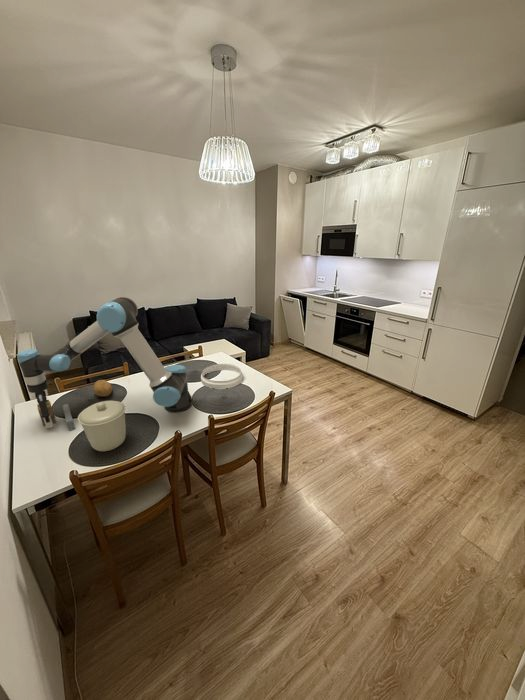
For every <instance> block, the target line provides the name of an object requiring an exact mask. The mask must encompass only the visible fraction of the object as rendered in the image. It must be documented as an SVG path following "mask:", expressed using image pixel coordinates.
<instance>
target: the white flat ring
mask: <svg viewBox="0 0 525 700" xmlns="http://www.w3.org/2000/svg"><path fill="white" fill-rule="evenodd" d="M216 371H231V372H235V373H236V374H237V373H238V376H237V377H235V378H231V379H227V380H211V379H208V378H206V377H205V374H206V375H207V373H208V374H210V373H212V372H216ZM242 381H243V372H242V370H241V368H240V367H239V366H237V365H235V364H231V363H230V364H229V363H217V364H216V363H215V364H212V365H209V366H207V367H205V368H204V369H203V370H202V372H201V375H200V382H201V384H202V385H203V387H204V386H205V387H207V388H208V387H209V389H212V388H215V389H214V390H227V389H226V388H228V389H232V388H234V387H236V386H238V385H240V384H241V383H242Z"/></svg>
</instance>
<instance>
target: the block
mask: <svg viewBox="0 0 525 700" xmlns="http://www.w3.org/2000/svg"><path fill="white" fill-rule="evenodd" d="M46 404H47V408H48V412H49V414H50V417H51V420H52V423H53V424H56V423H57V421H56V416H55V413H54V410H53V407H52V404H51V401H50V400H49V401H48V402H46ZM36 406H37V411H38V414H39V418H40V420H41V422H42V423H41V424H42V425H43V427H46V425H45V422H44V419H43V418H41V416H42V413H41V410H40V406H39V404H38V403H37V404H36Z"/></svg>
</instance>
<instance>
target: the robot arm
mask: <svg viewBox="0 0 525 700" xmlns="http://www.w3.org/2000/svg"><path fill="white" fill-rule="evenodd" d="M138 311H139V310H138V306H137V304H136V302H135V301H134V300H133V299H131V298H129V297H125V296H122V297H121V296H120V297H117V298H115V299H113V300H111V301H108V302H105V303H104V304H103V305H102V306H100V308H98V310H97V312H96V321H94V322H93V323H92V324H91V325H89V326H88V327H87V328H86V329H85V330H83V331H82V332H80V333H79V334H78V335H76V337H74V338H72V339H71V340H70V341H69V342H68V343H66V344H65V345H64V346H62V347H60V348H59V349H57V350H55V351H54V352H52V353H50V354H40V353H39V351H38V350H37V349H33V348H32V349H24V350H22V351H19V352H18V353H17V355H16V356H17V361H18V364H19V367H20V369H21V372H22V375H23V376H22V377H23V379H24V382H25V385H26V388H27V390H28V392H29V393H30V394H34V397H35V399H36V401H37V404H39V406H40V410H41V413H42V416H41V417H40V419H41V418H43V419H44V422H45V425H46V426H45V427H46V429H49V428H52V427H54V423H52V420H51V417H50V414H49V412H48V408H47V404H46V402H48V401H50V400H49V399H48V397H47V393H46V390H47V389H49V384H48V381H47V379H46V378H47V377H46V375H47V373H45V372H62V371H63V372H65V371H66V370H68V369H69V368H70V366H71V362H72V361H73V360H74V359H76V358H78V357H80V355H81V354H83V353H84V352H85V351H87V350H88V349H89V348H90V347H92V346H93V345H95V344H97V343H98V341H100V340H101V339H102V338H104V337H105V336H106V335H107V334H109V333H111V335H112V336H113V338H118V339H120V341H121V342H122V344H123V345H124V347H125V348H126V349H127V351H128V352H129V353H130V355H131V356H132V357H133V359H134V361H135V362H136V363H137V365H138V366H139V367H140V369H141V370H142V371H143V374H144V375H145V376H146V377H147V378H148V380H149V385H148V386H149V387H150V389H151V390H152V393H153V395H152V399H153V401H154V402H155V403H156V404H157V405H158V406H161V407H164V410H165V411H167V412H168V413H170V412H171V413H181V412H183V411H187V410H188V409H190V408H191V407H192V406H193V402H194V401H193V397H192V395H191V394H190V391H189V386H188V385H189V384H188V373H187V368H186V366H184V365H181V364H171V365H167V366H163V364H162V362H161V361H160V359H159V358H158V357H157V355H156V353H155V352H154V350H153V349H152V347H151V346H150V344H149V343H148V341H147V339H146V338H145V337H144V335H143V334H142V333H141V331H140V330H139V322H138V320H137V319H136V317H137V316H138Z"/></svg>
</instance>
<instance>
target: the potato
mask: <svg viewBox="0 0 525 700" xmlns="http://www.w3.org/2000/svg"><path fill="white" fill-rule="evenodd" d="M112 392H113V385H112V383H111V382H110V381H108V380H106V379H99V380H96V381H95V382H94V385H93V393H94V394H95V395H96V396H98V397H108V396H110V395H111V394H112Z"/></svg>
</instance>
